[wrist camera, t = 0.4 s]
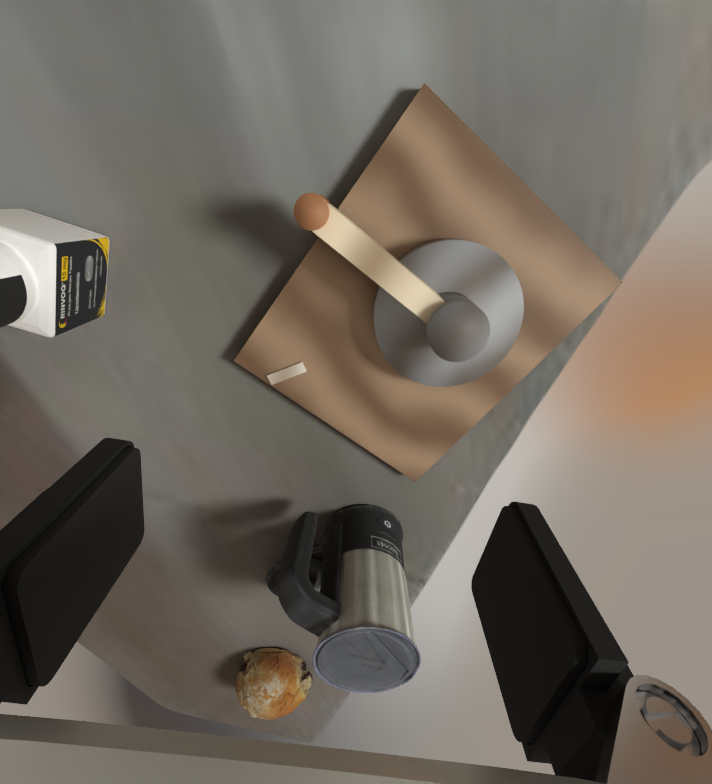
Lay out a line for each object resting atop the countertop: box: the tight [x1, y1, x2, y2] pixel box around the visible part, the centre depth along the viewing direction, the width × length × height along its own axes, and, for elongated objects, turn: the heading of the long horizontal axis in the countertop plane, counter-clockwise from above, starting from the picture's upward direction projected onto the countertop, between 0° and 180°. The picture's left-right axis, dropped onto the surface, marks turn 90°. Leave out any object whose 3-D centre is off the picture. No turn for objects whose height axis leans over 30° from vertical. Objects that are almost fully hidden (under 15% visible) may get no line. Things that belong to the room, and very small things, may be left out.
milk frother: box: [266, 505, 421, 693], centre depth 42 cm, size 14×16×15 cm
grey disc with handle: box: [294, 193, 524, 387], centre depth 31 cm, size 20×12×6 cm, turn 52°
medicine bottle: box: [0, 209, 110, 337], centre depth 29 cm, size 7×7×12 cm
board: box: [234, 83, 622, 482], centre depth 36 cm, size 26×22×2 cm
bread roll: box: [236, 648, 312, 719], centre depth 56 cm, size 10×10×8 cm
